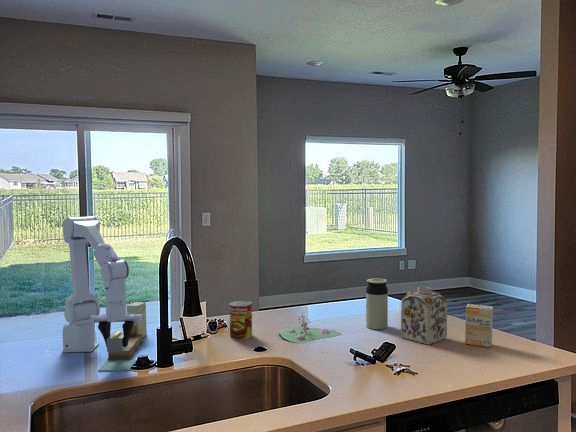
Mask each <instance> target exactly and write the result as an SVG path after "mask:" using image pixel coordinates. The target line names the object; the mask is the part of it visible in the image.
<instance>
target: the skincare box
mask: <svg viewBox="0 0 576 432" xmlns="http://www.w3.org/2000/svg"><path fill="white" fill-rule="evenodd" d="M146 305H147V304H146V302H145V301H142V302H141V301H134V302H132V303H129V304H126V313H128V314H142V321H141V322H135V323H134V325H133V326H137V334H142V339H143V338H144V337H147V332H148V331H147V306H146Z"/></svg>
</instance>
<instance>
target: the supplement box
mask: <svg viewBox="0 0 576 432" xmlns="http://www.w3.org/2000/svg"><path fill="white" fill-rule="evenodd" d="M493 316H494V306H490V305H480V304H472V303H467V304H466V307H465V333H464V334H465V335H464V337H465V338H464V344H465V345H467V344H469V346H475V345H477V346H476V347H483V346H484V348H489V347H490V348H492V345H493V323H494V321H493V320H494V317H493Z"/></svg>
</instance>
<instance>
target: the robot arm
mask: <svg viewBox="0 0 576 432" xmlns="http://www.w3.org/2000/svg"><path fill="white" fill-rule="evenodd" d="M100 226H101V225H100V220H99V219H98V217H97V216H96V215H92V216H76V217H75V216H73V217H72V216H71V217H70V216H67V217H66V218H65V219H64V221H63V223H62V232H63V233H62V234H63V239H64V240H63V241H64V243H66V244H68V249H69V259H70V271H71V272H70V273H71V282H72V294H71V295H69V296H68V297H67V299H65V301H64V314H63V315H64V319H65V321H66V323H64V325H63V327H62V351H61V352H62V353H81V352H82V353H84V352H85V353H86V352H88V353H89V352H93V351H94V350H95V349H96V348H97V347H98V346H99V345H100V342H96V338H95V337H96V336H95V335H96V334H95V331H96V330H95V324H96V323H97V324H98V325H97V328H98V330H99V331H100V334H101V335H102V338H103V340H104V342H105V346H106V348H107V338H108V337H109V336H110V335H111V326H112V323H122V326H121V327H122V331H123V332H122V333H123V334H124V347H126V346H127V345H128V340H129V336H130V332H131V330H132V327H133V325H134V323H135V322H141V321H142V314H128V313H127V291H126V290H127V289H126V287H127V286H126V279H128V278H129V275H130V267H129V264H128V262H127V260H126V259H123V258H122V257H119V256H118V254H117V253H116V251H115V250H114V249H113V246H111V244H109V243H106V242H105V241H104V239H103V237H102V235H101V233H100V232H101V231H100ZM87 243H88V244H89V245H90V246H91V248H92V249H93V254H92V255H93V257H94V259H95V260H96V262H97V263H98V265H99V267H100V268H101V269H100V275H101V278H102V284H103V287H104V289H105V291H104V292H105V294H104V295H105V314H101V307H100V305H99V301H98V296H97V295H95V294H94V293H92V292H90V283H89V271H88V261H87V260H88V259H87V252H86V251H87V249H86V245H87Z"/></svg>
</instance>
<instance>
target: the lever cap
mask: <svg viewBox="0 0 576 432" xmlns="http://www.w3.org/2000/svg"><path fill="white" fill-rule="evenodd" d="M127 346H128V345H127ZM127 346H126V347H127ZM126 347H124V334H123V332H122V331H121V330H120V331H119V330H118V331H116V332H112V333H110V336H109V337H108V338H107V347H106V353H108V352H123V351H124V350H125V348H126Z"/></svg>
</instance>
